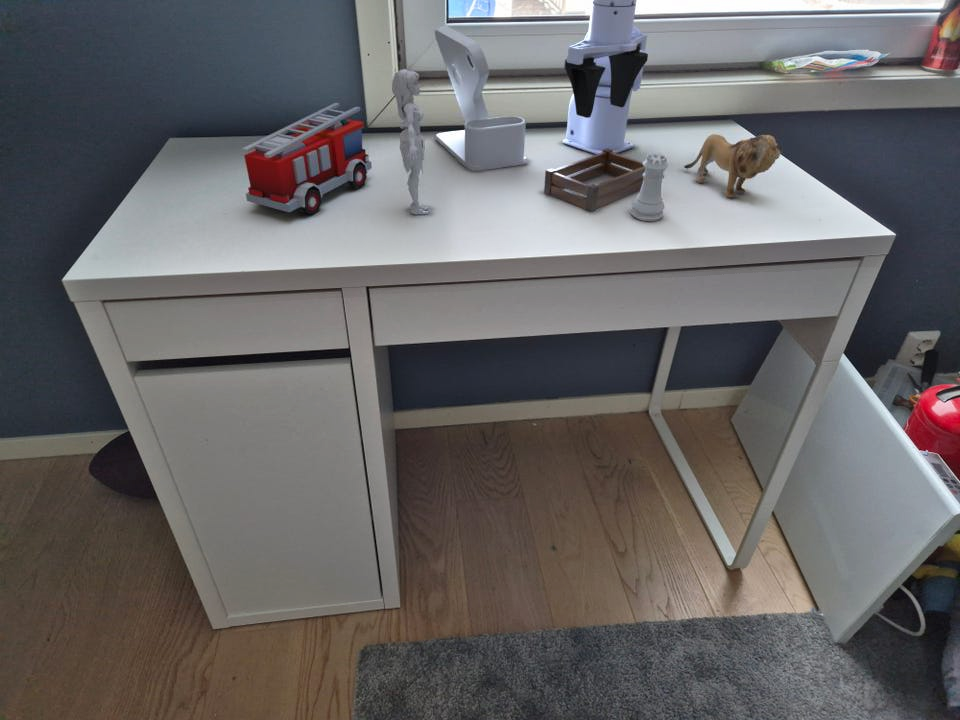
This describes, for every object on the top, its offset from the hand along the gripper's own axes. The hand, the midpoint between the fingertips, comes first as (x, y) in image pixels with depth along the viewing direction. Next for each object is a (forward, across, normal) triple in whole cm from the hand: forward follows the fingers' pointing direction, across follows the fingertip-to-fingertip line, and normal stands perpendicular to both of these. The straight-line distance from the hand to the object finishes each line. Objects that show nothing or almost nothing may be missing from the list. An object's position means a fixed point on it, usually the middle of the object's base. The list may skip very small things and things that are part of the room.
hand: (600, 110), depth 93 cm
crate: (+10, -3, -4) cm, 11 cm away
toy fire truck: (+10, -35, +22) cm, 43 cm away
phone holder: (+10, -5, +20) cm, 23 cm away
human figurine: (+10, -28, +8) cm, 31 cm away
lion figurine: (+10, +12, -15) cm, 22 cm away
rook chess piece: (+10, -5, -14) cm, 18 cm away
